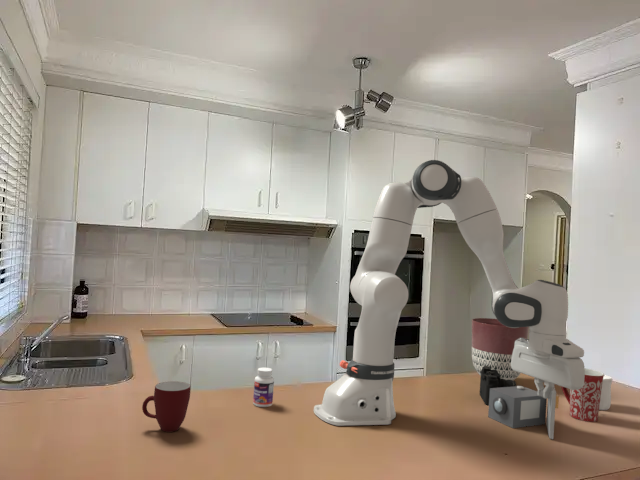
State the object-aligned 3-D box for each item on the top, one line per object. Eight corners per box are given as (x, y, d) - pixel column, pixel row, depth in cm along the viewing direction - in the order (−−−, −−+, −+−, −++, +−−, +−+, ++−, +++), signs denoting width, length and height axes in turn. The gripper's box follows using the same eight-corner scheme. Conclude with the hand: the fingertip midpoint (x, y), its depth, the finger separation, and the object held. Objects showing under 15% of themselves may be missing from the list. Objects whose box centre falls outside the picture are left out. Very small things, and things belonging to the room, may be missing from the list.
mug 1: (138, 436, 114) (141, 391, 114) (142, 423, 121) (145, 381, 121) (187, 434, 116) (190, 390, 116) (187, 422, 124) (190, 381, 124)
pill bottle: (249, 405, 140) (251, 369, 140) (258, 400, 145) (261, 365, 145) (266, 408, 138) (269, 372, 138) (275, 403, 143) (278, 368, 143)
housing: (509, 428, 134) (511, 395, 135) (485, 417, 143) (487, 386, 143) (545, 424, 140) (547, 392, 140) (519, 413, 148) (521, 383, 148)
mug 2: (608, 421, 146) (611, 374, 146) (586, 424, 142) (589, 375, 142) (571, 407, 157) (573, 363, 158) (549, 409, 154) (552, 365, 154)
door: (556, 439, 128) (559, 392, 128) (549, 438, 128) (552, 391, 128) (552, 424, 140) (555, 381, 140) (546, 423, 140) (548, 380, 140)
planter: (471, 385, 176) (475, 323, 176) (465, 372, 195) (468, 316, 195) (531, 392, 173) (535, 328, 173) (518, 378, 192) (522, 321, 192)
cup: (603, 412, 154) (605, 380, 154) (569, 403, 162) (571, 372, 162) (615, 407, 161) (617, 376, 161) (582, 399, 168) (583, 369, 168)
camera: (519, 410, 152) (521, 376, 152) (482, 405, 154) (484, 372, 154) (511, 397, 166) (513, 366, 166) (477, 393, 168) (479, 362, 168)
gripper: (507, 336, 140) (503, 386, 140) (572, 352, 121) (568, 410, 121) (524, 335, 142) (520, 385, 142) (590, 351, 124) (586, 408, 124)
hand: (543, 397), depth 132 cm, fingers closed
